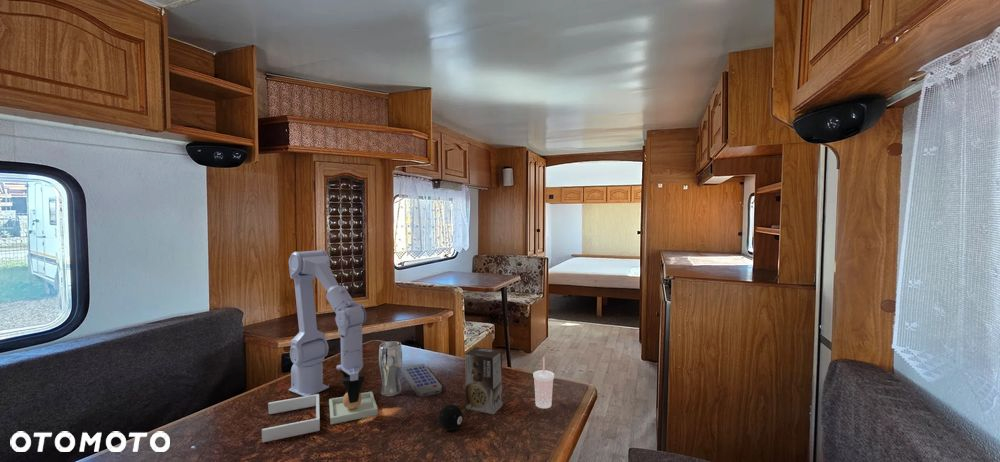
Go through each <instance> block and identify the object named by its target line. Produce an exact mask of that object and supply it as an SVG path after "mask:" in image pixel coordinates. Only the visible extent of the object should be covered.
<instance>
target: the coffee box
mask: <svg viewBox="0 0 1000 462" xmlns="http://www.w3.org/2000/svg"><path fill="white" fill-rule="evenodd" d="M502 352H503V351H502V350H500V349H499V350H498V349H492V348H485V347H479V346H474V347H473V348H471V349H469V351H467V352H465V353H464V364H465V365H464V367H465V369H464V371H465V409H466V410H470V411H475V412H481V413H485V414H490V415H495V414H496V413H497V412H498V411H499V410H500V409H501V408H502V407H503V353H502Z"/></svg>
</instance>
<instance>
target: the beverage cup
mask: <svg viewBox="0 0 1000 462" xmlns="http://www.w3.org/2000/svg"><path fill="white" fill-rule="evenodd" d="M545 361H546V360H545V356H542V369H539V370H535V371H533V373H532V375H533V377H532V378H533V381H534V382H533V383H534V397H535V399H534V401H535V406H536V407H538V408H539V409H549V408H551V407H552V402H553V388H554V387H553V386H554V379H555V373H554V372H553V371H550V370H547V369H546V370H545V367H546V366H545V365H546V364H545Z"/></svg>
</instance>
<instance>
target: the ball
mask: <svg viewBox="0 0 1000 462" xmlns="http://www.w3.org/2000/svg"><path fill="white" fill-rule="evenodd" d="M342 397H343V404H344V406H345V407H346V408H348V409H354V408H356V407H358V406H359V405H360V403H361V400H362V396H361V394H359V399H358V402H354V403H350V402H349V398H348V393H347V392H345V394H344V395H343V396H342Z"/></svg>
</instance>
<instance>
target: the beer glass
mask: <svg viewBox="0 0 1000 462" xmlns="http://www.w3.org/2000/svg"><path fill="white" fill-rule="evenodd" d="M378 365H379V371H380V374H381V375H380V376H381V390H380V394H381V396H383V397H389V398H390V397H395V396H397V395H400V394H401V393H402V386H401V379H400V378H401V372H402V367H403V366H402V365H403V350H402V343H401V341H394V340H393V341H392V340H391V341H386V342H382V343H380V344H379V350H378Z"/></svg>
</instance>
